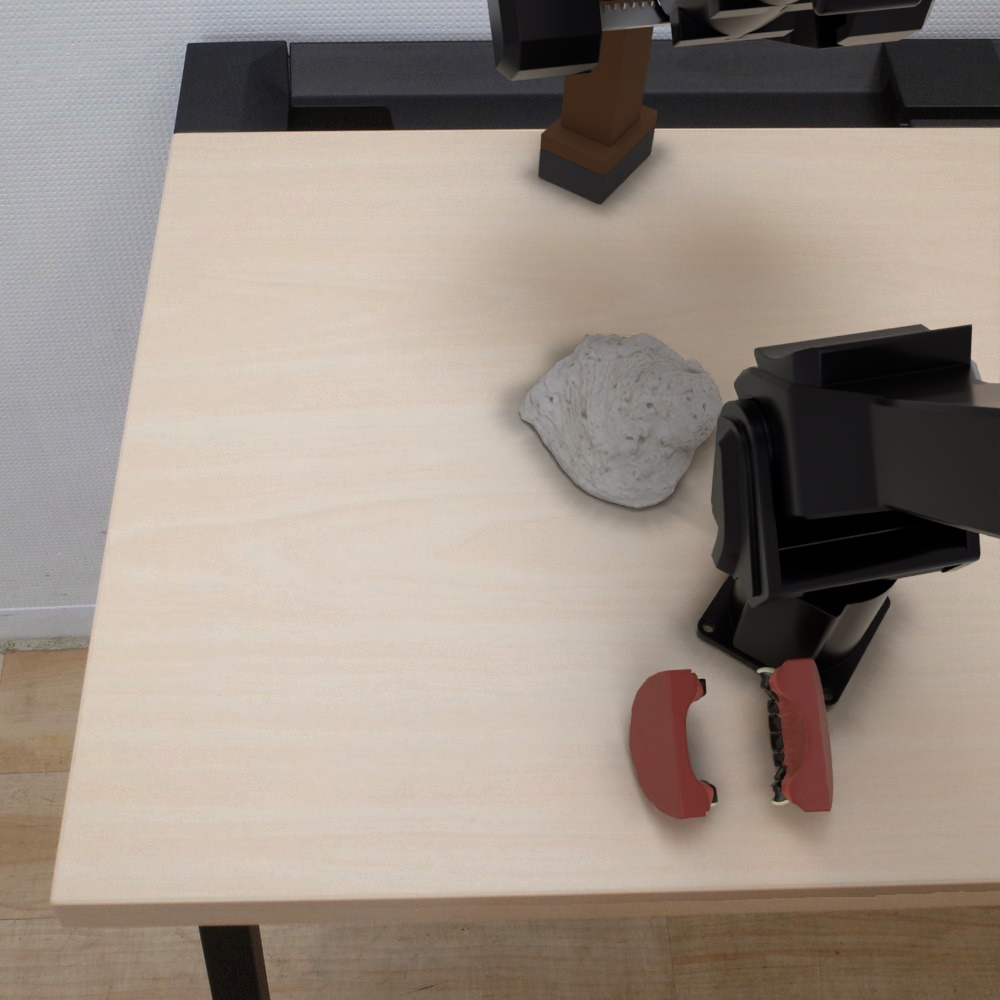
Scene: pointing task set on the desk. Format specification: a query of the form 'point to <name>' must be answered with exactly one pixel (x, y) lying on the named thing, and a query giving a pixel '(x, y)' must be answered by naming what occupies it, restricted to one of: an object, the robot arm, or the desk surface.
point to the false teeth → (796, 747)
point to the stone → (624, 416)
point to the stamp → (602, 118)
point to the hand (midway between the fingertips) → (649, 30)
